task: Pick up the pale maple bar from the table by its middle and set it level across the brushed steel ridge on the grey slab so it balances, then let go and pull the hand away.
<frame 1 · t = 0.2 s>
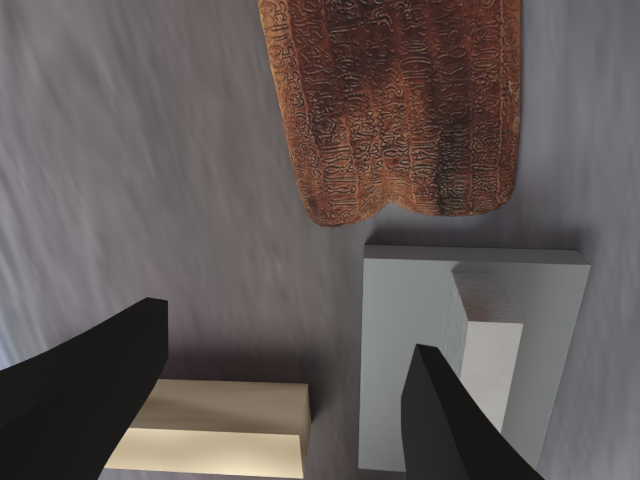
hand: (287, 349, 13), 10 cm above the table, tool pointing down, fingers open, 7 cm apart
maple bar: (183, 396, 28), on the table
steel ridge: (465, 411, 21), on the grey slab, point 4 cm above the table
grey slab: (452, 362, 25), on the table
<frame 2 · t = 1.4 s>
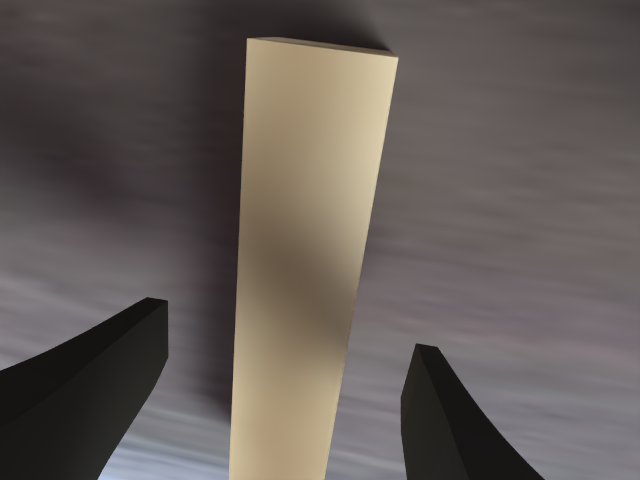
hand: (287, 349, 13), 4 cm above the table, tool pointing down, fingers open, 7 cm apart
maple bar: (307, 281, 16), on the table
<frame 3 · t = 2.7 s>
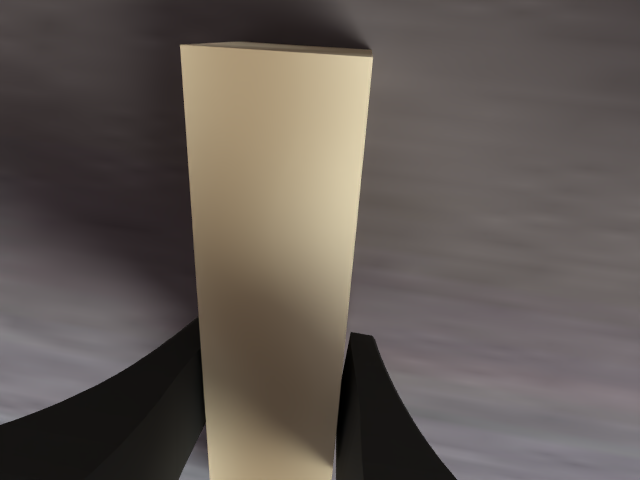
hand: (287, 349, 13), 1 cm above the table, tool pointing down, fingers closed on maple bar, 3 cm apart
maple bar: (295, 318, 14), on the table, touching gripper
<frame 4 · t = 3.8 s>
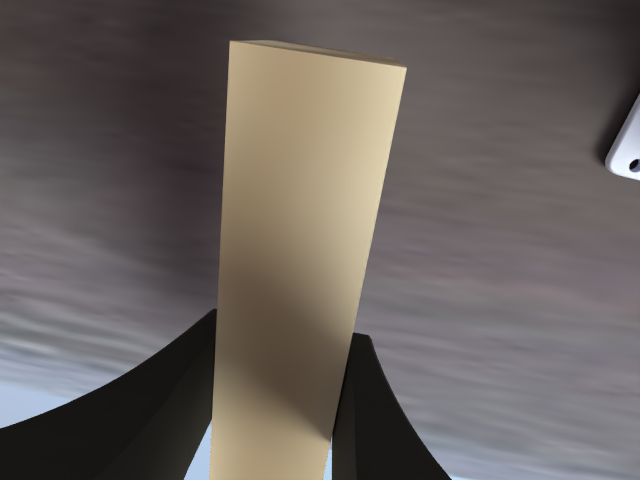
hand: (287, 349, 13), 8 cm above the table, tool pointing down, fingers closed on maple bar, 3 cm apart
maple bar: (298, 307, 15), point 6 cm above the table, touching gripper
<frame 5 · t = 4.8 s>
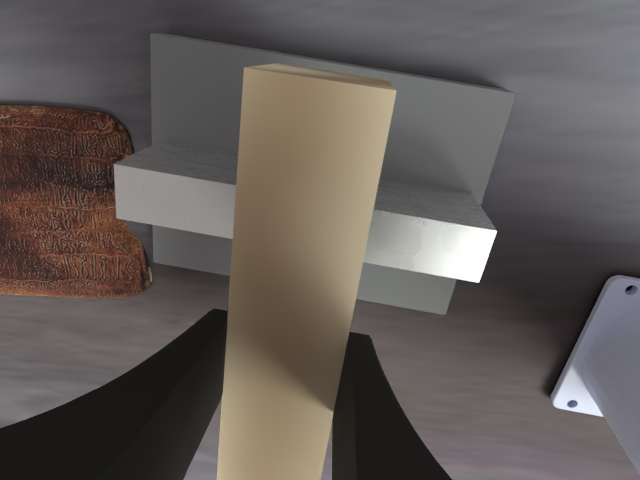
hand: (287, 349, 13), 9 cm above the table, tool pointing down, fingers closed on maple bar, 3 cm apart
maple bar: (299, 307, 16), point 6 cm above the table, touching gripper
steel ridge: (306, 204, 17), on the grey slab, point 4 cm above the table
grey slab: (316, 178, 20), on the table
when the fingers open (8 cm above the table, at t = 6.1 s): maple bar stays where it is, resting on steel ridge.
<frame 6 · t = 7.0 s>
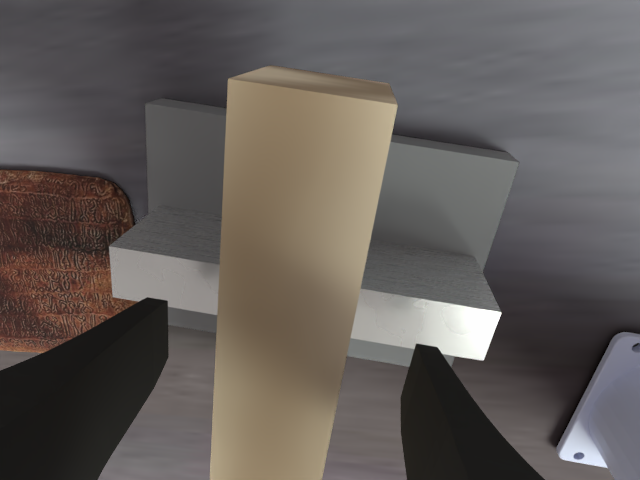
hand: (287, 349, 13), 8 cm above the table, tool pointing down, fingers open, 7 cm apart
maple bar: (295, 320, 15), point 5 cm above the table, touching steel ridge
steel ridge: (306, 275, 17), on the grey slab, point 4 cm above the table
grey slab: (316, 237, 20), on the table
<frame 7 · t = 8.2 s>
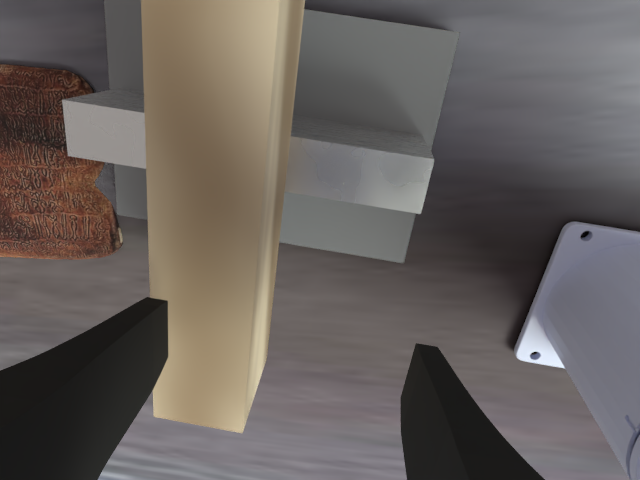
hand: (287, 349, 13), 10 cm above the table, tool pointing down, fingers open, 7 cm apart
maple bar: (241, 175, 16), point 5 cm above the table, touching steel ridge
steel ridge: (256, 145, 18), on the grey slab, point 4 cm above the table
grey slab: (274, 128, 21), on the table
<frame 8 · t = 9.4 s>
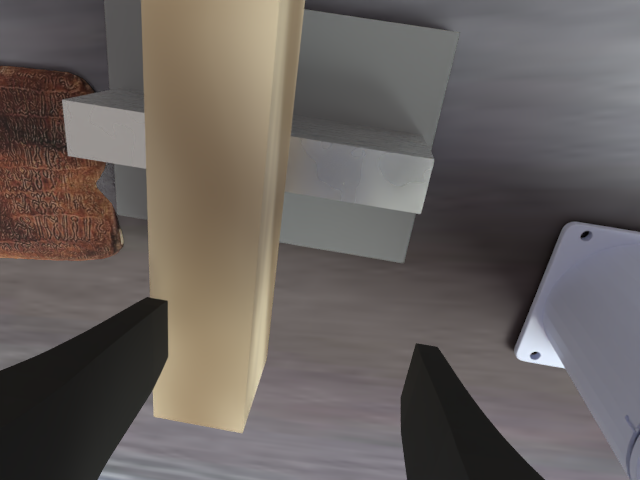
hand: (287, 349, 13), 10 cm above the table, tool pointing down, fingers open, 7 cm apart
maple bar: (241, 175, 16), point 5 cm above the table, touching steel ridge
steel ridge: (256, 145, 18), on the grey slab, point 4 cm above the table
grey slab: (274, 128, 21), on the table
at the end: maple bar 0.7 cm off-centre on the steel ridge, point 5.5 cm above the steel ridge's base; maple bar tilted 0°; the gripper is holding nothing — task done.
